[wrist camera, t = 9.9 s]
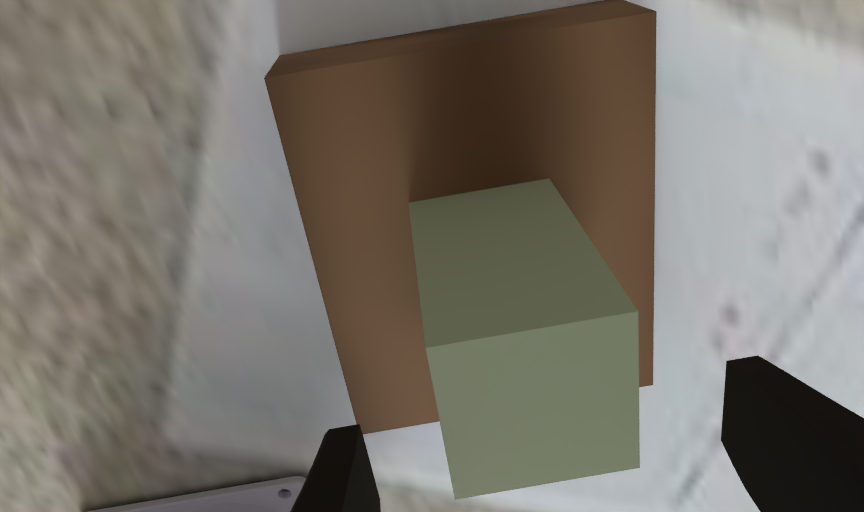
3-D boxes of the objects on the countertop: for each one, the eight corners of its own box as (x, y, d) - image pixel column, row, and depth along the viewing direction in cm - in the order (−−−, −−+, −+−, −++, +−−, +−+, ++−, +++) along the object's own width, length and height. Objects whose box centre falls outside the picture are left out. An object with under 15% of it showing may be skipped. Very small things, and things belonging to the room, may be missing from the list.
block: (430, 320, 20) (454, 499, 14) (408, 202, 18) (425, 347, 12) (558, 298, 20) (639, 467, 14) (549, 178, 18) (638, 311, 12)
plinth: (361, 379, 25) (359, 434, 22) (279, 55, 19) (264, 78, 17) (623, 334, 25) (652, 384, 22) (616, -2, 19) (656, 11, 17)
